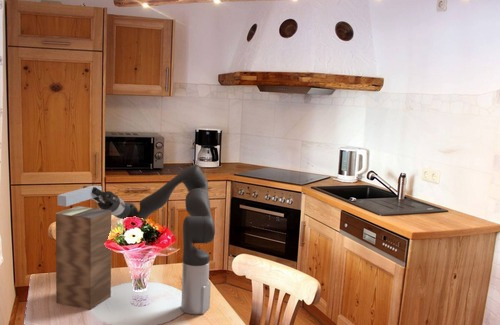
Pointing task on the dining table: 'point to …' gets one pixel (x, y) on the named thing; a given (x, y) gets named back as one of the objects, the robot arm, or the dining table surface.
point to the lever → (77, 196)
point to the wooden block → (83, 257)
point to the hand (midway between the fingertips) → (88, 189)
